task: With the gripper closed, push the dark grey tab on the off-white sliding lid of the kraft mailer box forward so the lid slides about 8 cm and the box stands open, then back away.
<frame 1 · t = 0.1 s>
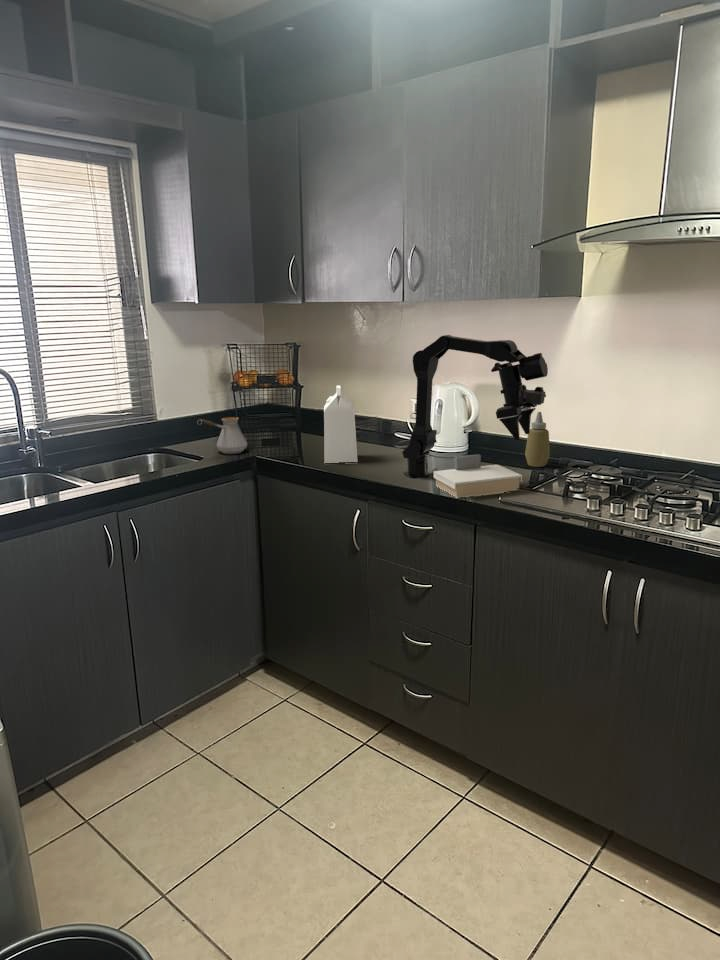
hand: (522, 436, 200), 15 cm above the worktop, tool pointing down, fingers open, 9 cm apart
milk: (340, 460, 245), on the worktop
coffee pot: (223, 455, 257), on the worktop
lid: (477, 469, 202), point 6 cm above the worktop, slide at 0.0 cm
mailer box: (476, 488, 204), on the worktop
squeeze bottle: (536, 466, 230), on the worktop
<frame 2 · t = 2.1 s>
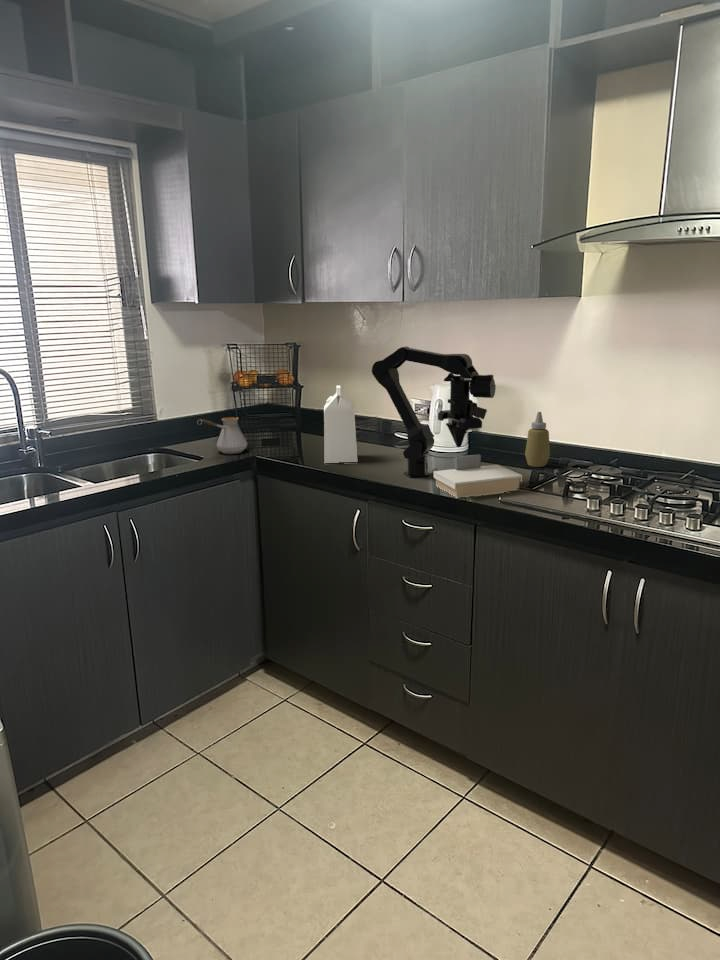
hand: (458, 446, 212), 10 cm above the worktop, tool pointing down, fingers closed
nothing on the worktop moved.
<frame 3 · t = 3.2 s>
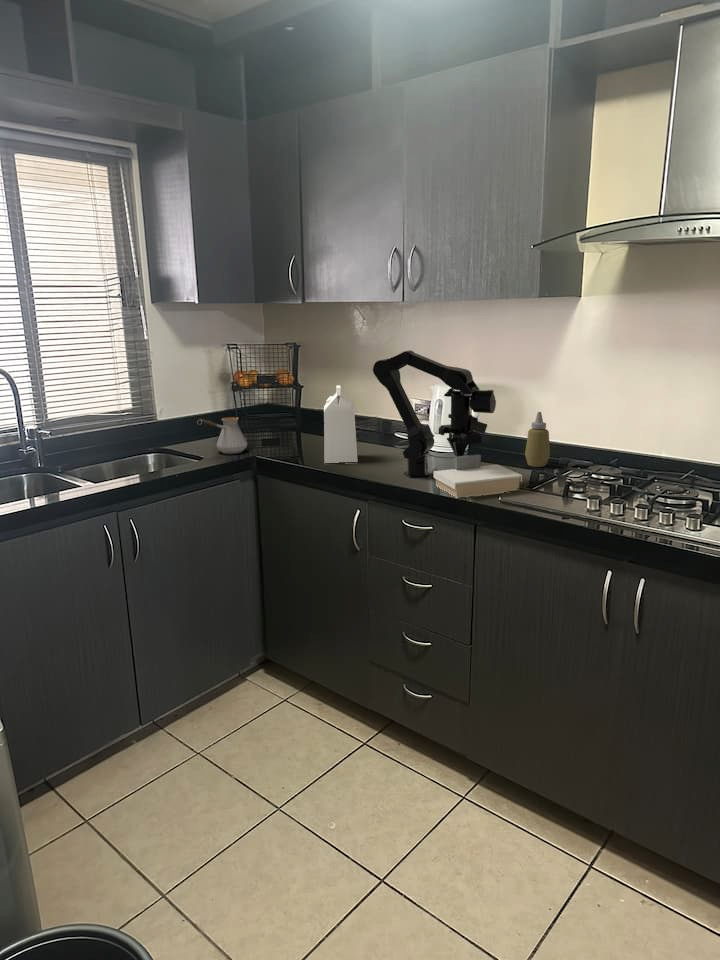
hand: (459, 461, 213), 6 cm above the worktop, tool pointing down, fingers closed
nothing on the worktop moved.
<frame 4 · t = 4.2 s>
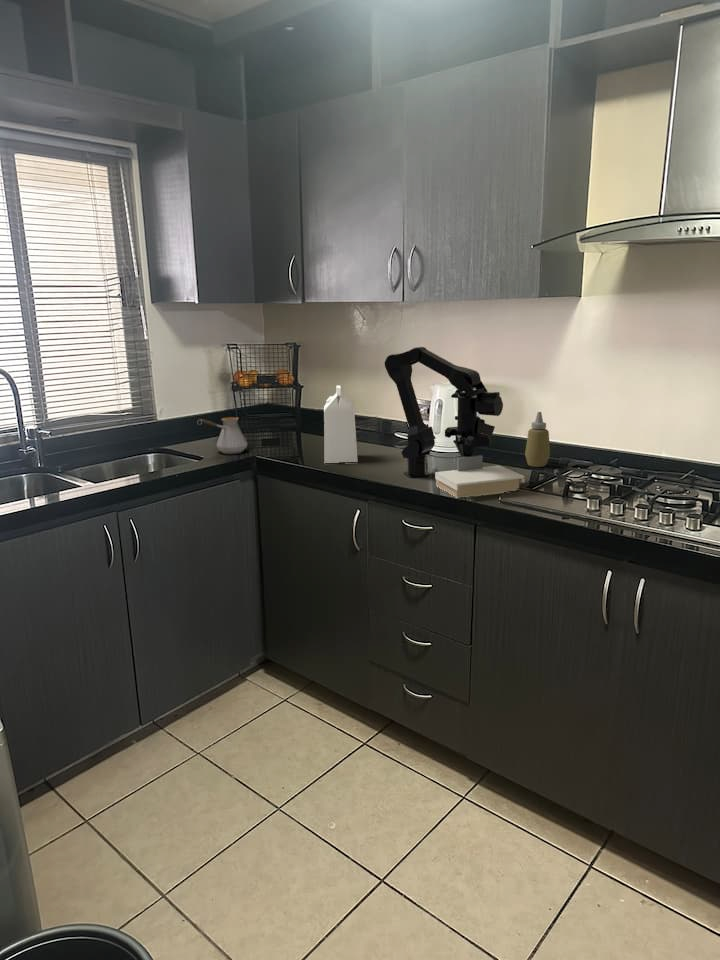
hand: (466, 464, 209), 6 cm above the worktop, tool pointing down, fingers closed
lid: (479, 470, 201), point 6 cm above the worktop, slide at 1.2 cm, touching gripper
everything else where it was.
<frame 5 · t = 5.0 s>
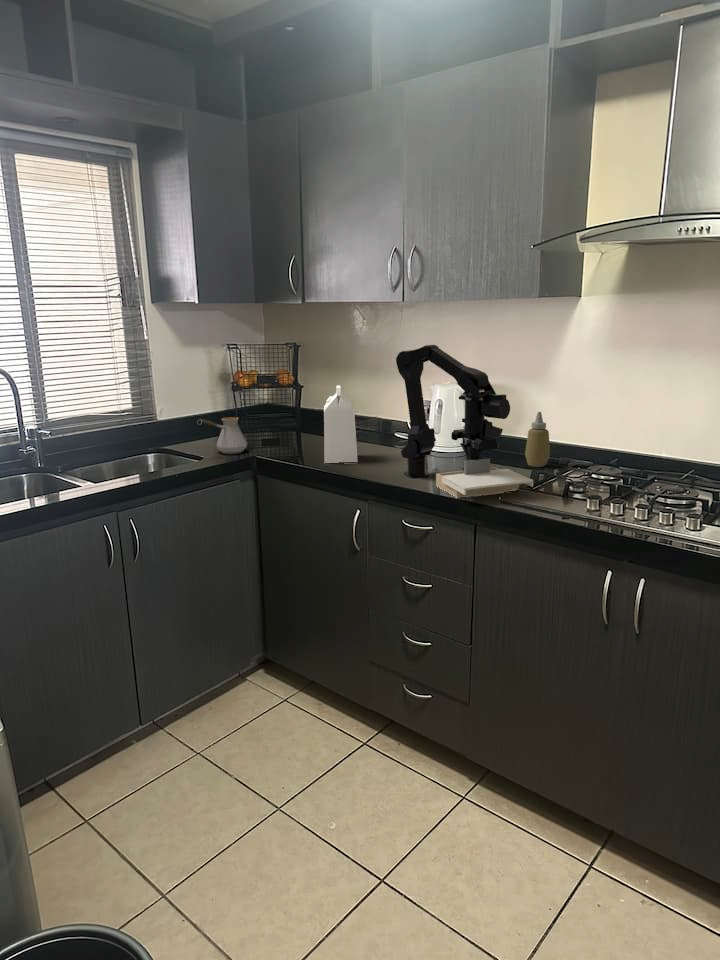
hand: (473, 467, 205), 6 cm above the worktop, tool pointing down, fingers closed
lid: (486, 474, 197), point 6 cm above the worktop, slide at 5.9 cm, touching gripper
everything else where it was.
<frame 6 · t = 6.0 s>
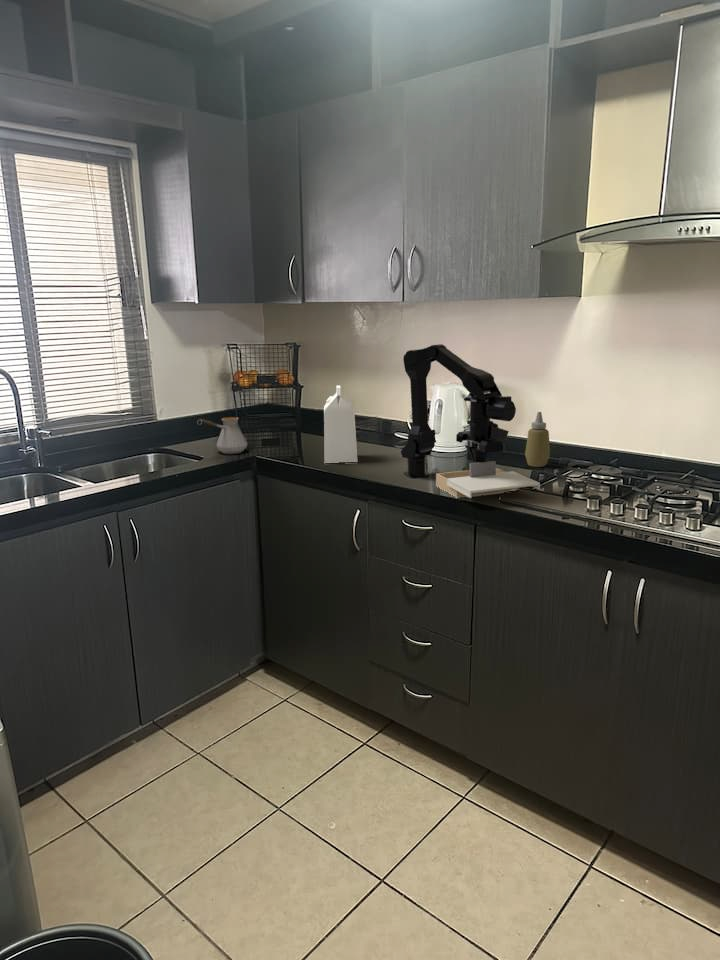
hand: (478, 470, 202), 6 cm above the worktop, tool pointing down, fingers closed
lid: (492, 477, 194), point 6 cm above the worktop, slide at 9.2 cm, touching gripper
everything else where it was.
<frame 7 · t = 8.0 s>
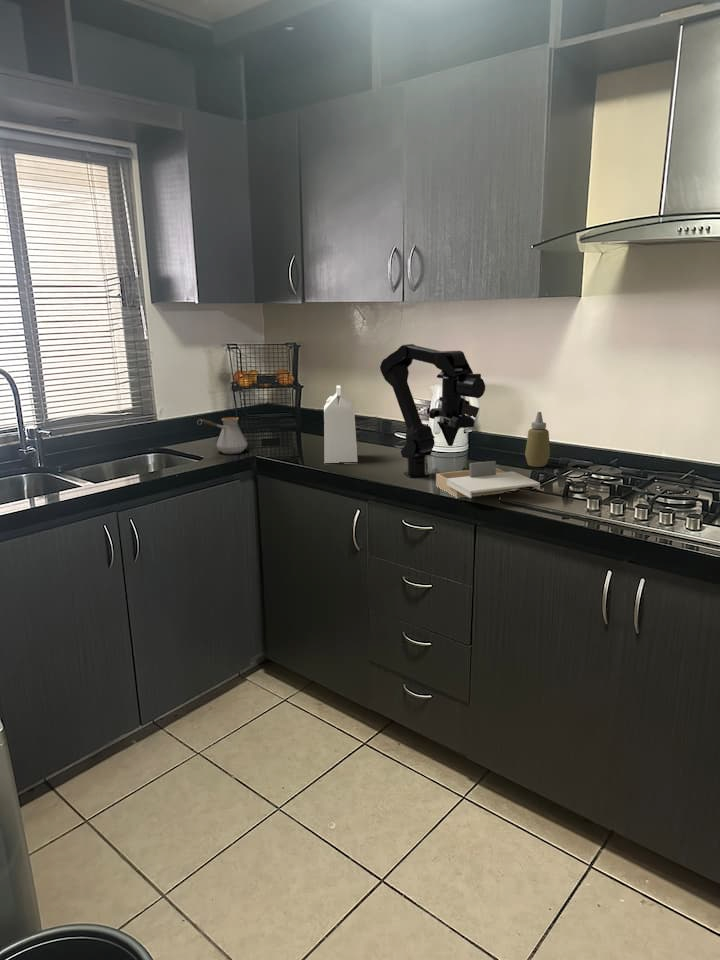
hand: (450, 445, 208), 12 cm above the worktop, tool pointing down, fingers closed
lid: (492, 477, 194), point 6 cm above the worktop, slide at 9.2 cm
everything else where it was.
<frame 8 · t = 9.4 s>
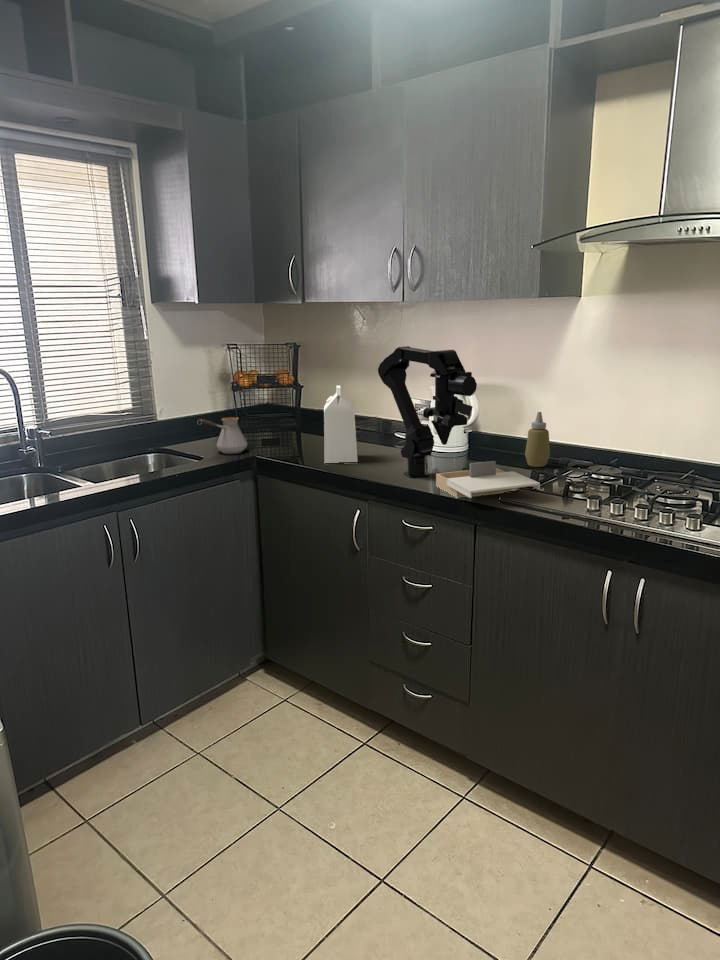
hand: (444, 444, 208), 12 cm above the worktop, tool pointing down, fingers closed
nothing on the worktop moved.
at the end: lid slide at 9.2 cm; the gripper is holding nothing; squeeze bottle moved 0.2 cm from its start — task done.
